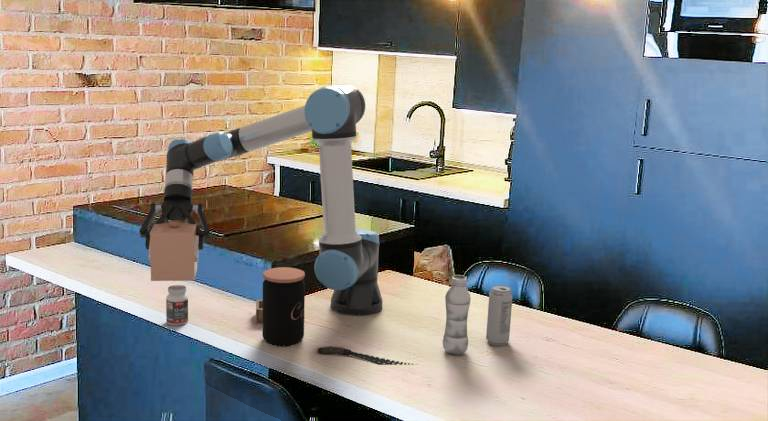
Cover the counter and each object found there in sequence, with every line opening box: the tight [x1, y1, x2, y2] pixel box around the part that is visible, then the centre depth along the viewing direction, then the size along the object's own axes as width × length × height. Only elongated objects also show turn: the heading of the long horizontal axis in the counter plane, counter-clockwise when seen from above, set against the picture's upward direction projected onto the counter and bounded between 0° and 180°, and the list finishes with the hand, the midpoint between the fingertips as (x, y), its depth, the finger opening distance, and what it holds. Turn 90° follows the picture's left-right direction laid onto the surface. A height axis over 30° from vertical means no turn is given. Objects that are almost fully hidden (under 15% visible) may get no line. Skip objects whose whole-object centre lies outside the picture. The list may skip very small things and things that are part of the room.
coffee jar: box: [261, 266, 306, 347], centre depth 206 cm, size 11×11×18 cm
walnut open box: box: [255, 299, 263, 324], centre depth 222 cm, size 10×8×4 cm
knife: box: [316, 345, 419, 366], centre depth 197 cm, size 28×2×5 cm
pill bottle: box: [165, 284, 189, 326], centre depth 216 cm, size 6×6×10 cm
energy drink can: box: [485, 284, 514, 347], centre depth 210 cm, size 6×6×15 cm
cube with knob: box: [150, 220, 198, 282], centre depth 212 cm, size 11×11×15 cm
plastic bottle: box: [442, 274, 472, 356], centre depth 202 cm, size 6×7×20 cm
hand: (173, 259), depth 210 cm, fingers closed on cube with knob, 11 cm apart
